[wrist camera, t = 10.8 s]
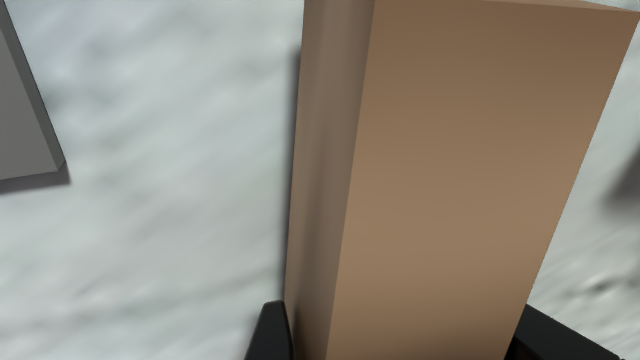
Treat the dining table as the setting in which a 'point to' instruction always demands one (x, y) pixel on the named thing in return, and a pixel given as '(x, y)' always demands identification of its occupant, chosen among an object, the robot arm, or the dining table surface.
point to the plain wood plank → (436, 167)
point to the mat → (22, 113)
